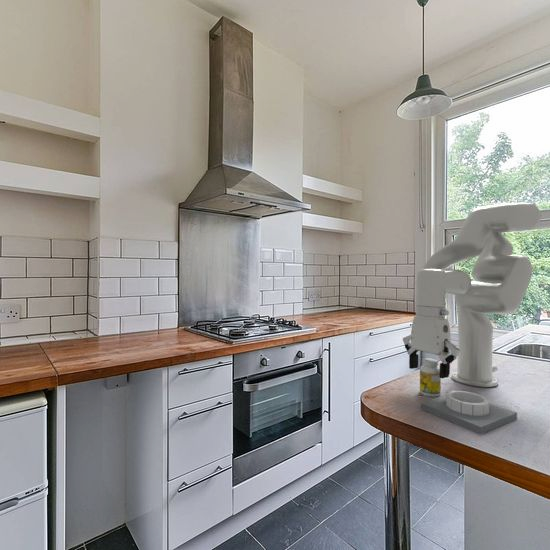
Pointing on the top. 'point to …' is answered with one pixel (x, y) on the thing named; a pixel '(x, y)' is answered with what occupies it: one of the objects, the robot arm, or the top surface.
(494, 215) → the robot arm
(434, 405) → the socket board
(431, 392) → the supplement bottle
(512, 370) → the top surface
